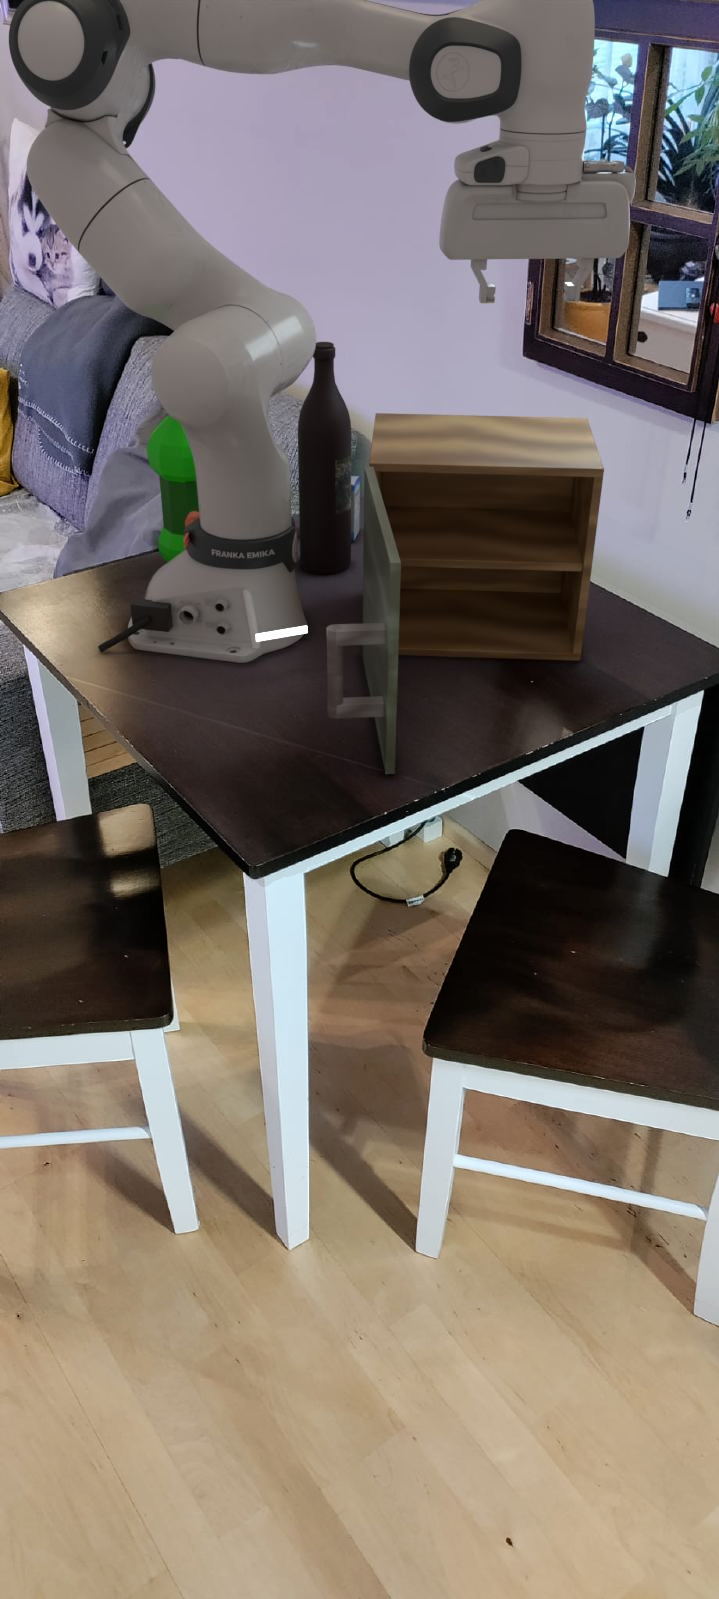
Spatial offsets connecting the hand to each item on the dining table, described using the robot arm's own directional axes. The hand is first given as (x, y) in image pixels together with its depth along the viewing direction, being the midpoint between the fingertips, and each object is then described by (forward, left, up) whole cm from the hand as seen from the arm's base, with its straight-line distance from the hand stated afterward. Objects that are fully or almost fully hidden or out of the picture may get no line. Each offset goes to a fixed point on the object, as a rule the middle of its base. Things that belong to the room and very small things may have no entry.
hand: (528, 301), depth 134 cm
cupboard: (-4, -1, -39) cm, 39 cm away
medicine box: (-24, +27, -39) cm, 53 cm away
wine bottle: (-24, +16, -39) cm, 49 cm away
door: (-18, -24, -39) cm, 49 cm away
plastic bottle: (-42, +14, -39) cm, 59 cm away
